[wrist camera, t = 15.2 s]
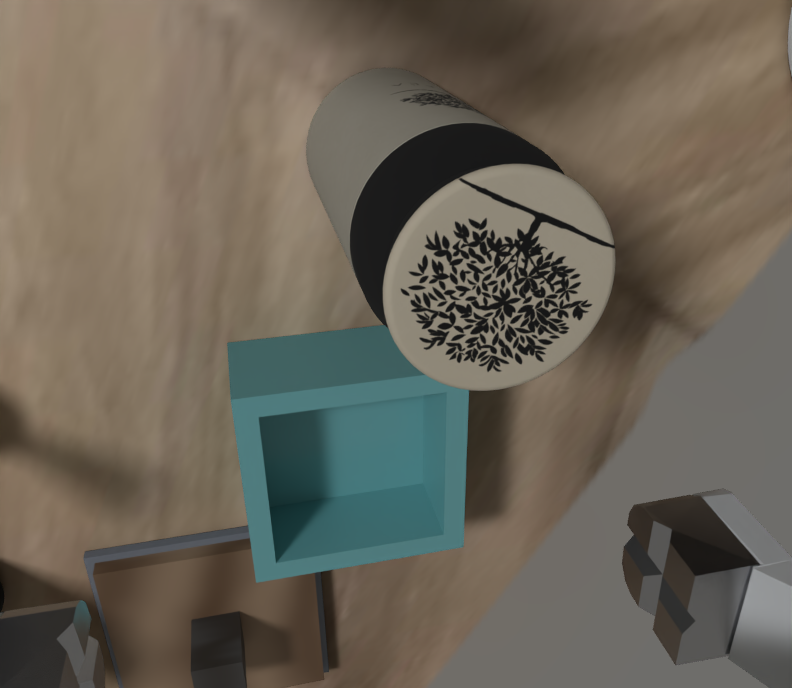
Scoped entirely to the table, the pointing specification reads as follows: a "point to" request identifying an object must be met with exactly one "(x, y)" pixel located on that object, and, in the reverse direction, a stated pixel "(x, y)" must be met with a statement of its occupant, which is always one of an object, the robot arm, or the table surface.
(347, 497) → the dish
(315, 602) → the lid
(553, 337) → the travel mug
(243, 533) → the tray
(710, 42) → the table surface
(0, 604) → the beverage can
